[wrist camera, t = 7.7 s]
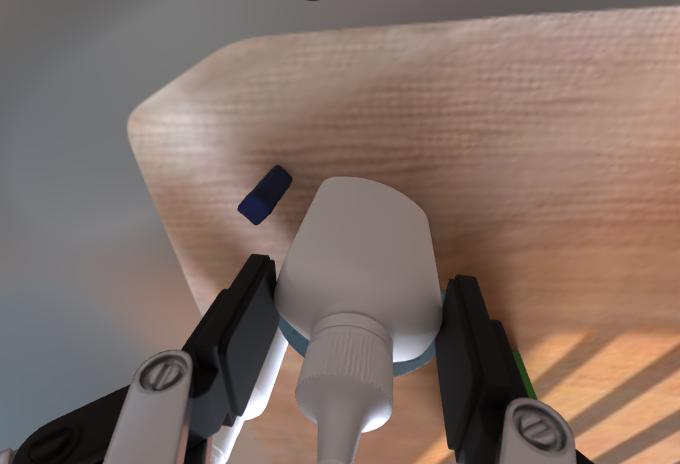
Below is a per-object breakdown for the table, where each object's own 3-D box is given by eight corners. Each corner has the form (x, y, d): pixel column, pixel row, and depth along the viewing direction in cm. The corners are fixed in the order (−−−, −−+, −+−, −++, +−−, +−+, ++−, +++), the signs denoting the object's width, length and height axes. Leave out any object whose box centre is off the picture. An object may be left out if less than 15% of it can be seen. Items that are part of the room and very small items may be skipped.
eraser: (263, 176, 31) (232, 209, 25) (278, 161, 30) (251, 192, 24) (280, 193, 32) (254, 229, 26) (296, 179, 31) (273, 213, 25)
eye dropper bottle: (372, 267, 19) (345, 539, 9) (302, 196, 17) (170, 427, 7) (438, 225, 17) (503, 509, 7) (367, 141, 16) (313, 349, 5)
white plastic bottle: (230, 292, 39) (123, 460, 24) (284, 283, 37) (205, 459, 22) (254, 334, 42) (173, 507, 27) (305, 327, 40) (249, 510, 25)
